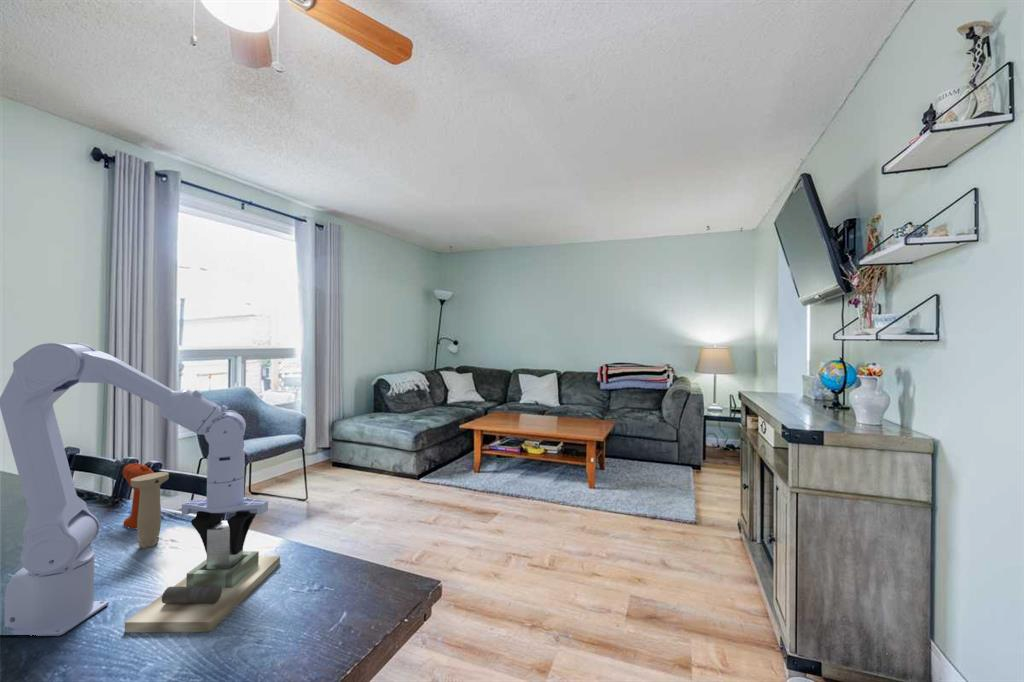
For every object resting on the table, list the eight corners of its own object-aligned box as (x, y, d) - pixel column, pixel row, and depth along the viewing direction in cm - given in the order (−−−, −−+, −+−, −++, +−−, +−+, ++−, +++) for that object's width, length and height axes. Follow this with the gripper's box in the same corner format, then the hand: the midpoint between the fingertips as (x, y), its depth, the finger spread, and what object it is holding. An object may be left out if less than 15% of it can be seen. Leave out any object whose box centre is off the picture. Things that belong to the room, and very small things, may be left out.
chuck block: (124, 632, 64) (125, 605, 64) (214, 564, 84) (214, 544, 84) (210, 631, 64) (211, 605, 64) (279, 563, 84) (280, 543, 84)
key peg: (206, 568, 75) (207, 529, 75) (221, 557, 79) (222, 520, 79) (229, 568, 75) (229, 529, 75) (242, 557, 79) (243, 520, 79)
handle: (172, 540, 94) (173, 473, 94) (138, 554, 88) (139, 482, 88) (158, 537, 95) (160, 471, 96) (124, 549, 89) (125, 479, 90)
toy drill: (124, 503, 111) (129, 448, 111) (159, 527, 102) (164, 467, 102) (100, 509, 107) (105, 452, 106) (134, 535, 98) (139, 472, 97)
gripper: (277, 471, 82) (276, 541, 81) (201, 471, 81) (200, 542, 81) (256, 483, 74) (254, 560, 74) (173, 483, 74) (171, 560, 74)
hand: (224, 552), depth 77 cm, fingers closed on key peg, 4 cm apart
